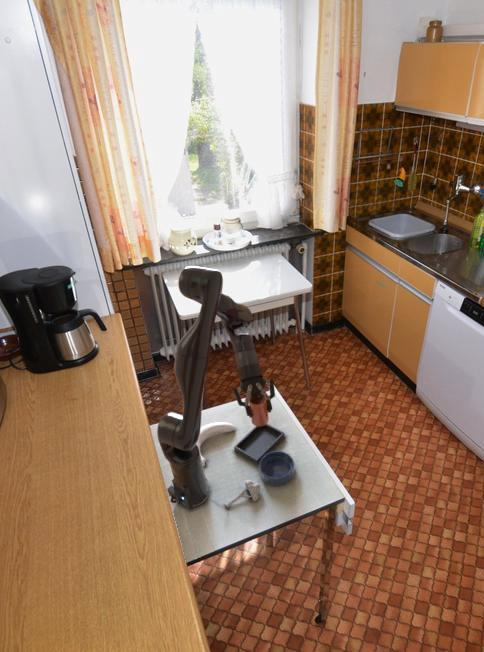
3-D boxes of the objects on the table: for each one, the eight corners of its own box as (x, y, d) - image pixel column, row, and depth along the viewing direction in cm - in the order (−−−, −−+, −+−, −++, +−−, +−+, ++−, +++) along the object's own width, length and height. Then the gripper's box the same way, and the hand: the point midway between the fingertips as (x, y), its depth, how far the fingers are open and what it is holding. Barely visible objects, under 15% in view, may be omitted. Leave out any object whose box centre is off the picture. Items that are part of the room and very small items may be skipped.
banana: (229, 421, 166) (247, 446, 155) (183, 444, 159) (197, 472, 148) (227, 412, 163) (245, 437, 152) (179, 435, 157) (194, 462, 146)
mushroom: (220, 493, 135) (253, 473, 138) (222, 499, 138) (255, 478, 142) (230, 513, 131) (265, 491, 134) (232, 518, 134) (266, 497, 138)
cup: (261, 429, 143) (258, 407, 138) (248, 421, 147) (244, 400, 141) (272, 418, 147) (270, 397, 142) (259, 411, 150) (256, 390, 145)
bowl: (280, 493, 138) (279, 485, 136) (253, 476, 144) (252, 468, 142) (301, 469, 145) (300, 461, 143) (274, 453, 151) (273, 445, 149)
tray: (257, 465, 148) (257, 460, 146) (234, 451, 154) (233, 446, 152) (284, 437, 157) (284, 432, 156) (262, 425, 163) (261, 420, 162)
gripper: (227, 368, 141) (240, 420, 138) (270, 358, 144) (283, 408, 141) (226, 371, 149) (238, 420, 145) (267, 361, 151) (279, 409, 148)
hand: (260, 414), depth 143 cm, fingers closed on cup, 6 cm apart
